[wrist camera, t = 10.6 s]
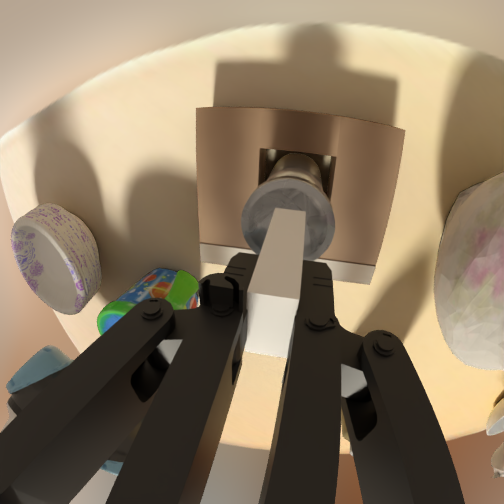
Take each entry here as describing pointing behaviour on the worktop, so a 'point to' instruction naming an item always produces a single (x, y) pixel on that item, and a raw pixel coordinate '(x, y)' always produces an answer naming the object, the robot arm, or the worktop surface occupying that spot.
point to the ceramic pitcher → (474, 281)
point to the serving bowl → (496, 419)
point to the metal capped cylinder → (291, 205)
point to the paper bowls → (57, 257)
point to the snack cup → (152, 295)
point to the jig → (301, 140)
